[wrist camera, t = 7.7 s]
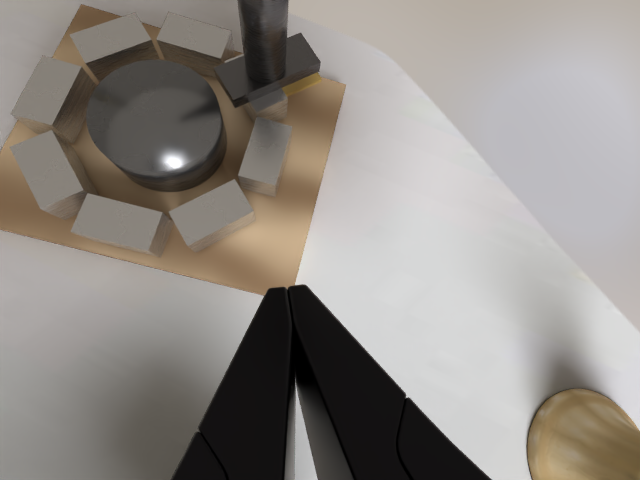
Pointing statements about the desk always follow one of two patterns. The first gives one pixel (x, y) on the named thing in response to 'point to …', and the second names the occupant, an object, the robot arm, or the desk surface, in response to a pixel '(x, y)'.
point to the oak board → (230, 252)
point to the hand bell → (583, 439)
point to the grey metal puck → (158, 125)
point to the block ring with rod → (202, 57)
